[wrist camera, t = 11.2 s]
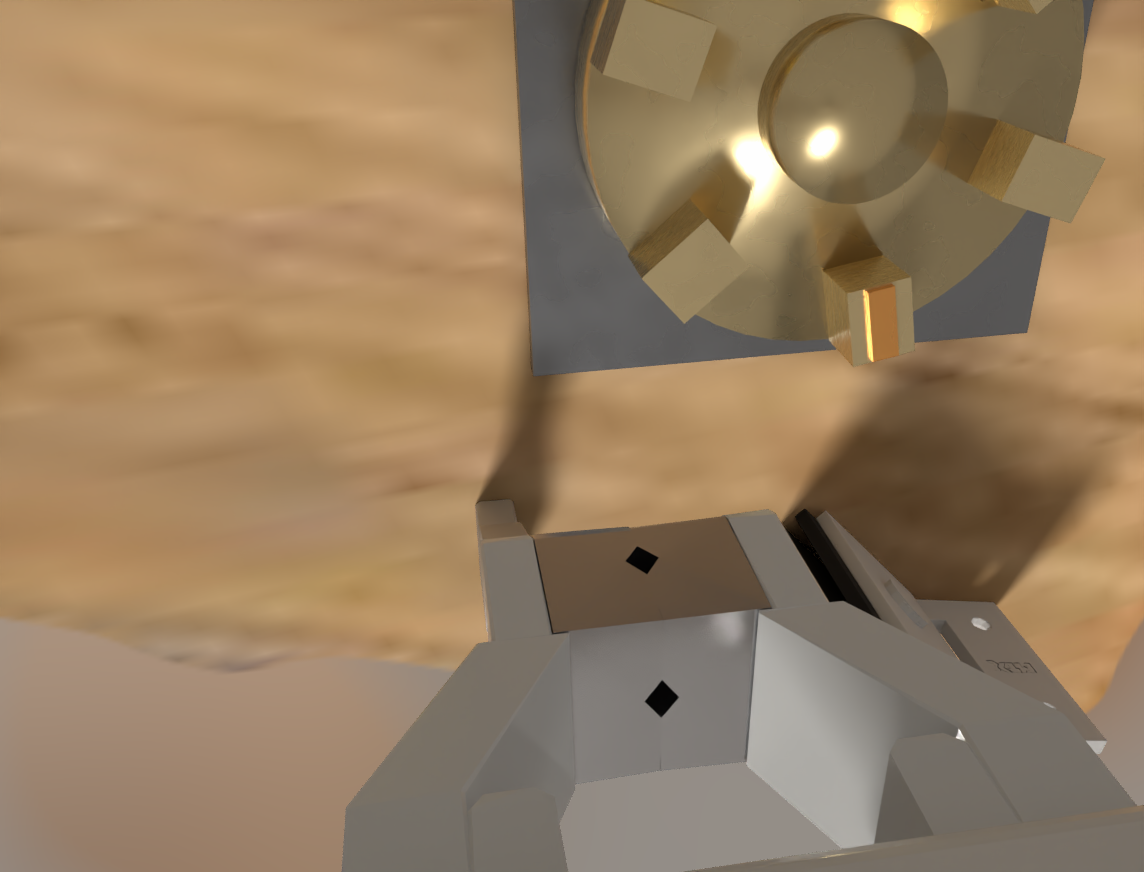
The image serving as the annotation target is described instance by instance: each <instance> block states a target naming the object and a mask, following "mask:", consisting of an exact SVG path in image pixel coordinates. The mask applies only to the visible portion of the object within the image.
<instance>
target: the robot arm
mask: <svg viewBox="0 0 1144 872" xmlns="http://www.w3.org/2000/svg"><path fill="white" fill-rule="evenodd" d="M481 558H482V570H483V582H484V594H485V607H486V619H487V631H488V642H484V643H478V644H477V645H476V646H475V647H474V648H473V650H472V651H471V652H470V653H469V655H468V656H467V657H466V658H465V660H464V661H463V662H462V663H461V665H460V666H459V667H458V668H457V670H456V671H455V672H454V673H453V675H452V676H451V677H450V678H449V680H448V681H447V682H446V683H445V685H444V686H443V687H442V688H441V690H440V691H439V692H438V693H437V695H436V696H435V697H434V698H433V700H432V701H431V702H430V703H429V705H428V706H427V707H426V708H425V710H424V711H423V712H422V713H421V715H420V716H419V717H418V718H417V720H416V721H415V722H414V723H413V725H412V726H411V727H410V728H409V730H408V731H407V732H406V733H405V735H404V736H403V737H402V739H401V740H400V741H399V742H398V743H397V745H396V746H395V747H394V748H393V750H392V751H391V752H390V753H389V755H388V756H387V757H386V758H385V760H384V761H383V762H382V763H381V765H380V766H379V767H378V768H377V770H376V771H375V772H374V773H373V775H372V776H371V777H370V778H369V780H368V781H367V782H366V783H365V785H364V786H363V787H362V788H361V790H360V791H359V792H358V793H357V795H356V796H355V797H354V798H353V800H352V801H351V802H350V803H349V805H348V806H347V807H346V815H345V830H344V831H345V832H344V846H343V861H342V872H568V869H567V863H566V858H565V852H564V847H563V841H562V836H561V830H560V825H559V823H560V821H561V819H562V817H563V815H564V812H565V810H566V808H567V806H568V804H569V802H570V800H571V797H572V795H573V793H574V791H575V784H580V783H586V782H593V781H598V780H604V779H611V778H617V777H624V776H629V775H636V774H642V773H648V772H654V771H662V770H671V769H680V768H690V767H699V766H709V765H718V764H728V763H738V762H747V766H748V767H749V768H750V769H751V770H752V771H754V772H755V773H756V774H757V775H758V776H759V777H760V778H761V779H763V780H764V781H765V782H766V783H767V784H768V785H769V786H771V787H772V788H773V789H774V790H775V791H776V792H777V793H779V794H780V795H781V796H782V797H783V798H784V799H786V800H787V801H788V802H789V803H790V804H791V805H792V806H794V807H795V808H796V809H797V810H798V811H799V812H801V813H802V814H803V815H804V816H805V817H806V818H807V819H808V820H810V821H811V822H812V823H813V824H814V825H815V826H817V827H818V828H819V829H820V830H821V831H822V832H824V833H825V834H826V835H827V836H828V837H829V838H830V839H831V840H833V841H834V842H835V843H836V844H837V845H838V846H840V847H841V848H842V849H835V850H829V851H822V852H815V853H808V854H801V855H794V856H788V857H781V858H774V859H767V860H761V861H753V862H746V863H740V864H733V865H726V866H719V867H712V868H705V869H699V870H692V871H685V872H1144V805H1141V806H1137V805H1136V804H1135V802H1134V801H1133V800H1132V799H1131V797H1130V796H1129V795H1128V794H1127V792H1126V791H1125V790H1124V788H1123V787H1122V786H1121V785H1120V783H1119V782H1118V781H1117V780H1116V779H1115V777H1114V776H1113V775H1112V773H1111V772H1110V771H1109V770H1108V768H1107V767H1106V766H1105V764H1104V763H1103V762H1102V761H1101V759H1100V758H1099V757H1098V756H1097V754H1096V753H1095V752H1094V751H1093V749H1092V748H1091V747H1090V746H1089V744H1088V743H1087V742H1086V740H1085V739H1084V738H1083V737H1082V735H1081V734H1080V733H1079V732H1078V730H1077V729H1076V728H1075V727H1074V725H1073V724H1072V723H1071V722H1070V720H1069V719H1068V718H1067V717H1066V715H1065V714H1063V713H1061V712H1059V711H1057V710H1055V709H1054V708H1052V707H1050V706H1048V705H1046V704H1044V703H1042V702H1040V701H1038V700H1036V699H1034V698H1032V697H1030V696H1028V695H1026V694H1024V693H1022V692H1020V691H1018V690H1016V689H1014V688H1012V687H1011V686H1009V685H1007V684H1005V683H1003V682H1001V681H999V680H997V679H995V678H993V677H991V676H989V675H987V674H985V673H983V672H981V671H979V670H977V669H975V668H973V667H971V666H969V665H968V664H966V663H964V662H962V661H960V660H958V659H956V658H954V657H952V656H950V655H948V654H946V653H944V652H942V651H940V650H938V649H936V648H934V647H932V646H930V645H928V644H926V643H925V642H923V641H921V640H919V639H917V638H915V637H913V636H911V635H909V634H907V633H905V632H903V631H901V630H899V629H897V628H895V627H893V626H891V625H889V624H887V623H885V622H883V621H882V620H880V619H878V618H876V617H874V616H872V615H870V614H868V613H866V612H864V611H862V610H860V609H858V608H856V607H854V606H852V605H850V604H848V603H846V602H844V601H838V602H829V601H828V599H827V598H826V596H825V594H824V593H823V591H822V589H821V588H820V586H819V584H818V583H817V581H816V579H815V578H814V576H813V575H812V573H811V571H810V570H809V568H808V566H807V565H806V563H805V561H804V560H803V558H802V556H801V555H800V553H799V551H798V550H797V548H796V546H795V545H794V543H793V541H792V540H791V538H790V536H789V535H788V533H787V531H786V530H785V528H784V526H783V525H782V523H781V522H780V520H779V518H778V517H777V515H776V513H774V512H772V511H770V510H769V509H766V510H759V511H752V512H745V513H737V514H730V515H723V516H721V517H714V518H706V519H698V520H689V521H681V522H673V523H665V524H657V525H648V526H640V527H632V528H629V527H618V528H606V529H594V530H582V531H571V532H559V533H547V534H535V535H532V538H531V537H530V536H529V535H522V536H513V537H504V538H494V539H485V540H481Z"/></svg>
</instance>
